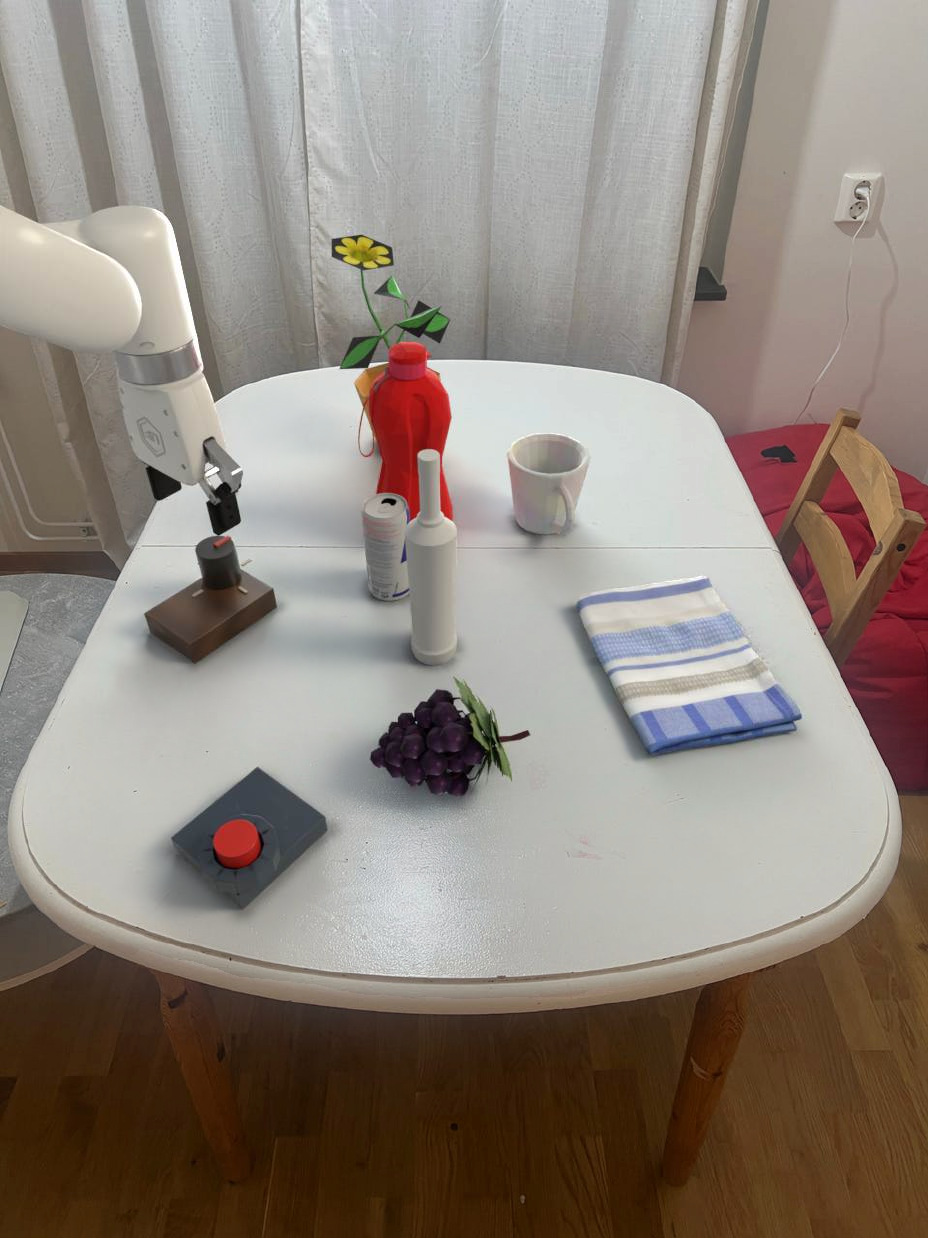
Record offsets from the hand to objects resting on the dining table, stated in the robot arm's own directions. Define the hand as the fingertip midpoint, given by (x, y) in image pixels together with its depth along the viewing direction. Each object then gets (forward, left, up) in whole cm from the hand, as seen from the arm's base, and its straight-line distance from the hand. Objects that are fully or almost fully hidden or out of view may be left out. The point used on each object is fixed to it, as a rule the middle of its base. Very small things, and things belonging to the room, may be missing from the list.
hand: (197, 511), depth 89 cm
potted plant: (+42, +9, -15) cm, 45 cm away
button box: (-18, -26, -15) cm, 35 cm away
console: (0, +1, -15) cm, 15 cm away
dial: (+2, +2, -12) cm, 12 cm away
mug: (+38, -20, -15) cm, 45 cm away
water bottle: (+26, -6, -15) cm, 30 cm away
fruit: (-1, -35, -15) cm, 38 cm away
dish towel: (+26, -45, -15) cm, 54 cm away
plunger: (-21, -28, -11) cm, 37 cm away
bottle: (+11, -23, -15) cm, 29 cm away
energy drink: (+16, -12, -15) cm, 25 cm away
